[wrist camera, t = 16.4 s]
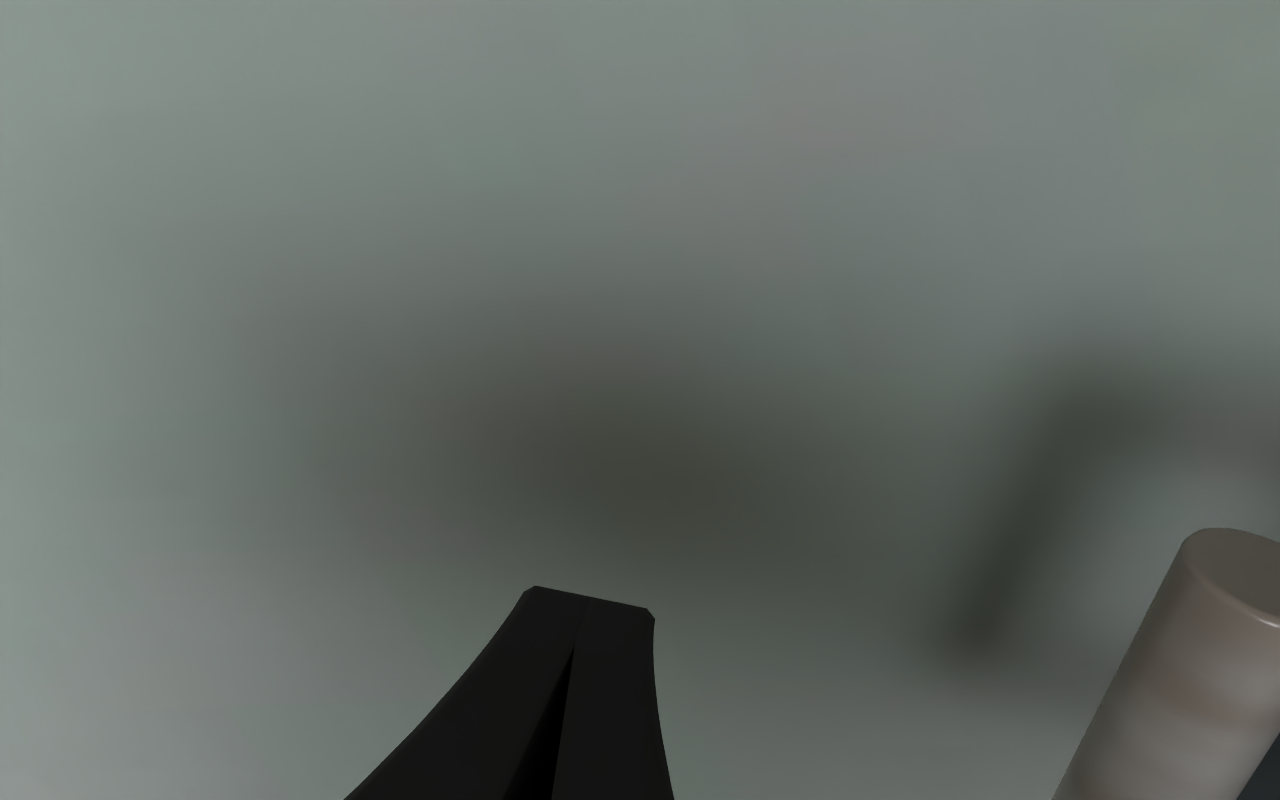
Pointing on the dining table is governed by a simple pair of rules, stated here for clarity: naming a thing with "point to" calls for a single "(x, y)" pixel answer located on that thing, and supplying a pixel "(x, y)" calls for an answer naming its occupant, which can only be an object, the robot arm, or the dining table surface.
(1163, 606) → the drawer
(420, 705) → the dining table surface
